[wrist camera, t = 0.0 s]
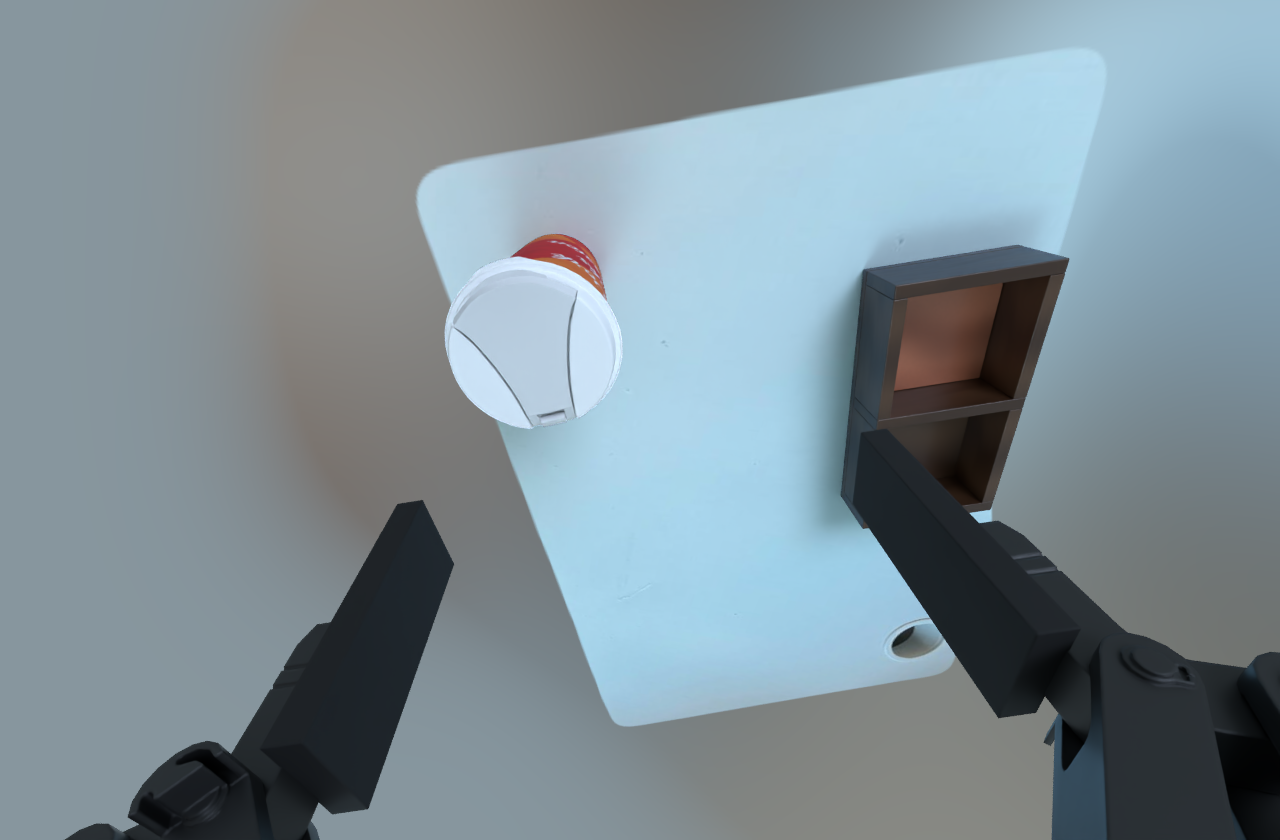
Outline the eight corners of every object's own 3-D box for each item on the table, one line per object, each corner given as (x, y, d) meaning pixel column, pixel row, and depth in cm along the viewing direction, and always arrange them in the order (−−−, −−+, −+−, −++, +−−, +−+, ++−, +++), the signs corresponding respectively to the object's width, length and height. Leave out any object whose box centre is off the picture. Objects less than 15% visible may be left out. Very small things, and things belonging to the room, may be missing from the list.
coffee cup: (627, 318, 36) (640, 418, 23) (522, 342, 36) (478, 454, 24) (599, 200, 32) (596, 242, 19) (481, 228, 32) (399, 289, 19)
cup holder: (863, 269, 35) (895, 285, 31) (1018, 244, 35) (1070, 257, 31) (840, 496, 47) (862, 529, 43) (958, 478, 46) (990, 509, 42)
